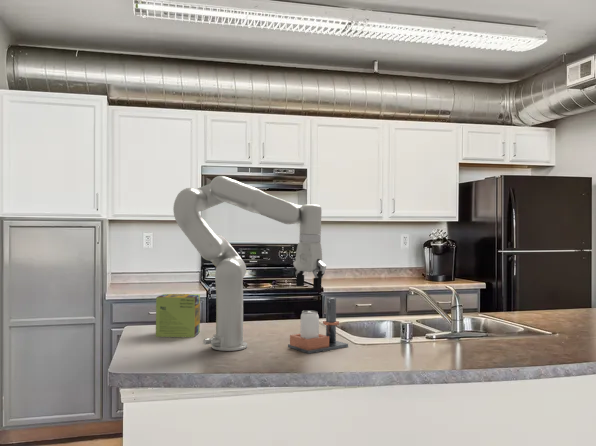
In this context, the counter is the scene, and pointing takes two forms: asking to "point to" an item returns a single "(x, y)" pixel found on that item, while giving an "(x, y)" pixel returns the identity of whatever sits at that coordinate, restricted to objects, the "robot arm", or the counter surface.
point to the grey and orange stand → (322, 341)
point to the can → (309, 324)
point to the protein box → (177, 315)
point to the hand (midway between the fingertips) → (308, 287)
